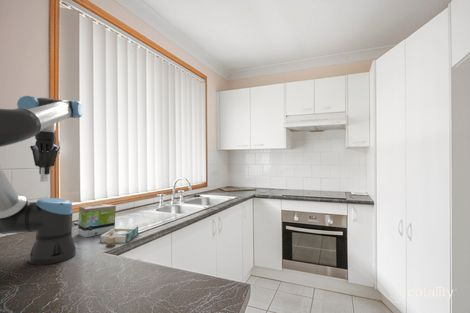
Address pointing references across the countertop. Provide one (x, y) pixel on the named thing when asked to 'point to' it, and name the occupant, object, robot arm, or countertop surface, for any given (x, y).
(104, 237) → the dock
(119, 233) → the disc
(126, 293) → the countertop surface
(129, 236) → the tray
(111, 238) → the stand
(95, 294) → the countertop surface
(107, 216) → the tea box
